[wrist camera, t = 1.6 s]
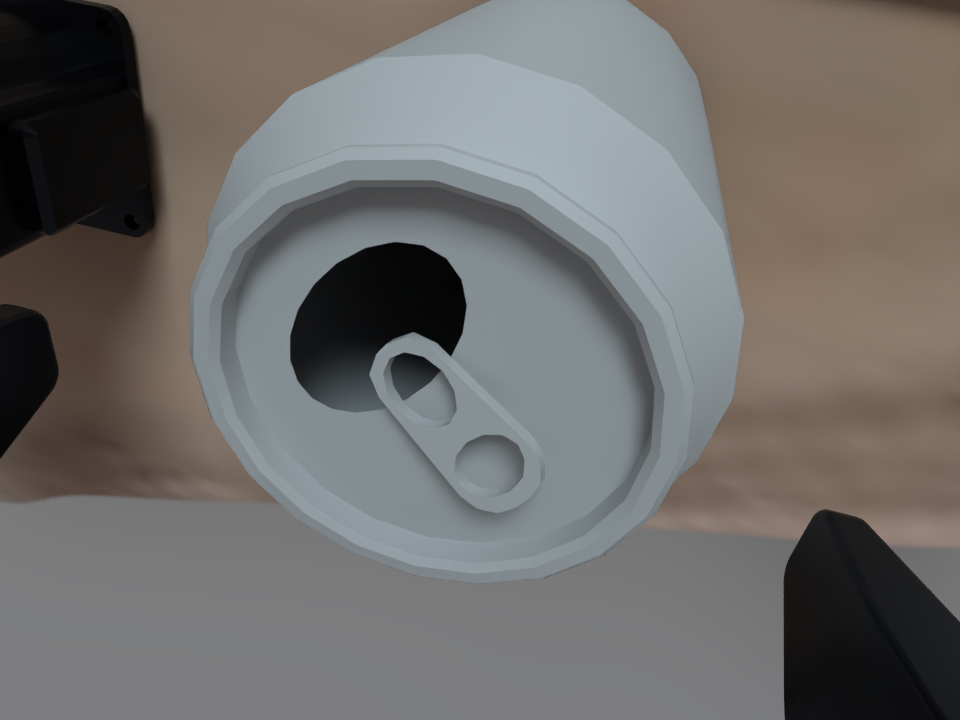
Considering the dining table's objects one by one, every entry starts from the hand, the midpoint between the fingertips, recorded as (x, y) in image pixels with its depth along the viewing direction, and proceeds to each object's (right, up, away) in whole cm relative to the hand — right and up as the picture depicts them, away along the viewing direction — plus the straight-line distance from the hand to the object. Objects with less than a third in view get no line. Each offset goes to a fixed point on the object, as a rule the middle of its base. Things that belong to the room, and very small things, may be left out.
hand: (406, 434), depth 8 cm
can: (+3, +7, +10) cm, 13 cm away
